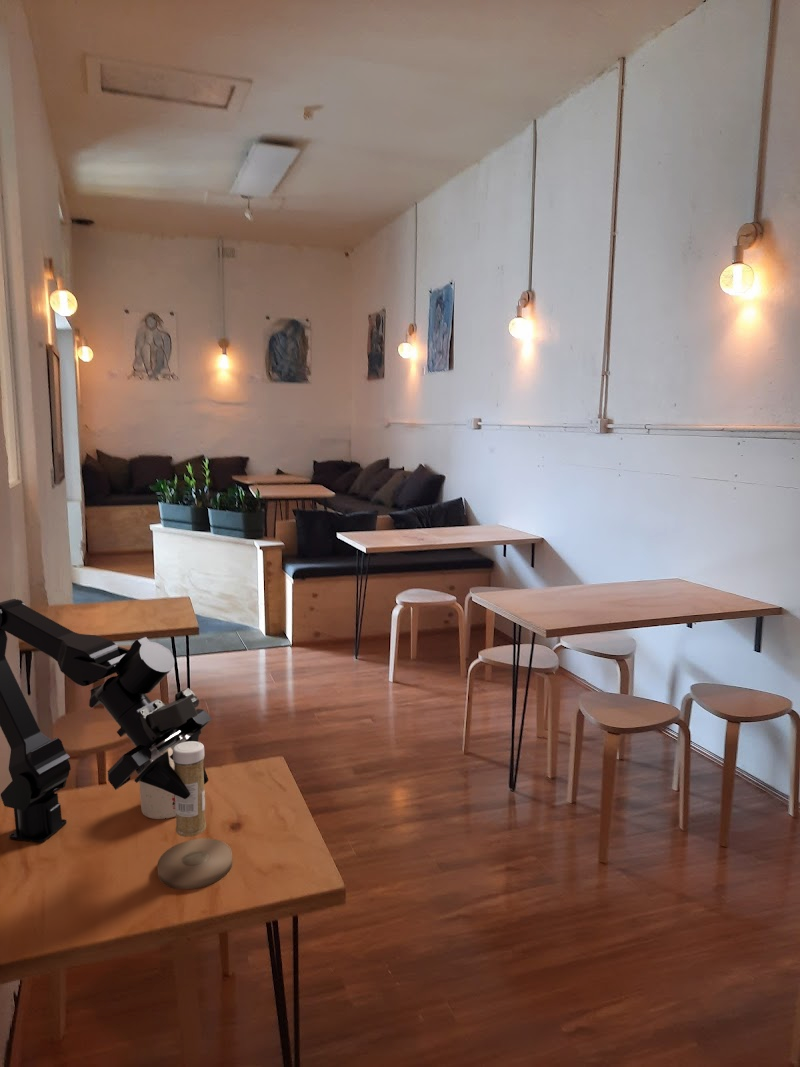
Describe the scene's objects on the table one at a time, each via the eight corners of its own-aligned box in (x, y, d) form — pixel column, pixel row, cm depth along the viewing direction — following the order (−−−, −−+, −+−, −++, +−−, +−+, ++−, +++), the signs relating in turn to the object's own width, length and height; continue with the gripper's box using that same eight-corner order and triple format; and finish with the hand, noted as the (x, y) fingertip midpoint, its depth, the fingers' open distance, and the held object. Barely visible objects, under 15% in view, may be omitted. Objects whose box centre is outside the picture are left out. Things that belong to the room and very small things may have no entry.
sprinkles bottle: (212, 826, 116) (210, 742, 114) (193, 840, 112) (191, 754, 110) (187, 820, 118) (185, 738, 116) (168, 834, 114) (166, 749, 112)
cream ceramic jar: (182, 821, 129) (178, 757, 128) (131, 820, 130) (126, 756, 128) (205, 787, 141) (202, 728, 139) (158, 786, 142) (154, 727, 140)
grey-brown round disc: (144, 884, 112) (143, 875, 112) (181, 843, 123) (180, 835, 123) (212, 893, 110) (211, 884, 109) (243, 851, 120) (243, 842, 120)
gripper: (119, 701, 104) (190, 789, 102) (199, 660, 121) (261, 735, 119) (77, 746, 108) (145, 832, 106) (161, 700, 125) (220, 773, 123)
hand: (197, 789), depth 114 cm, fingers closed on sprinkles bottle, 4 cm apart
